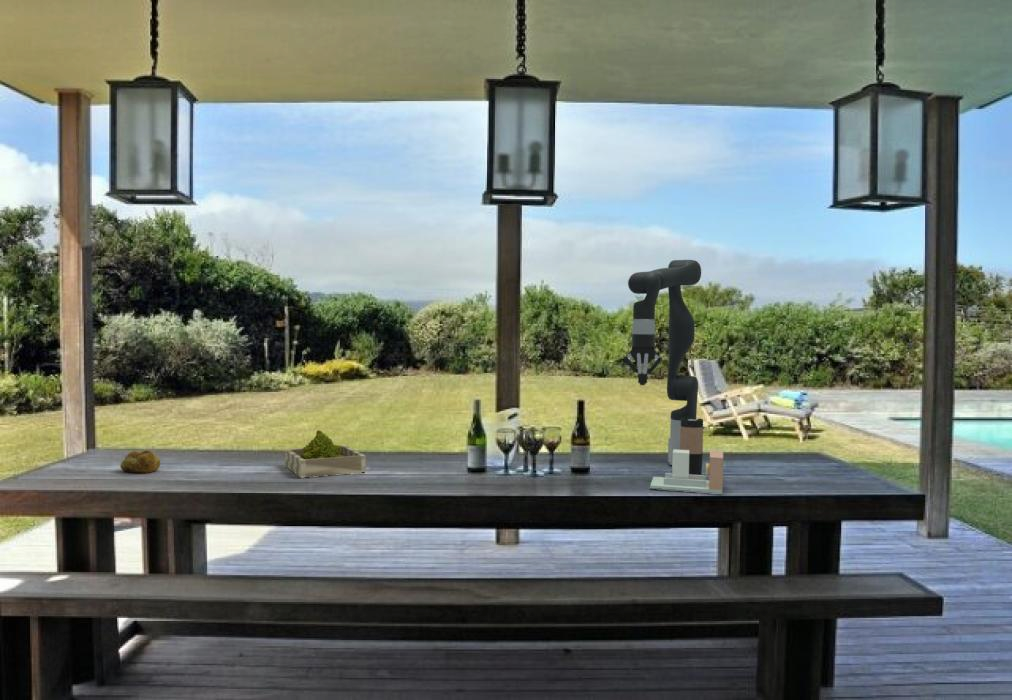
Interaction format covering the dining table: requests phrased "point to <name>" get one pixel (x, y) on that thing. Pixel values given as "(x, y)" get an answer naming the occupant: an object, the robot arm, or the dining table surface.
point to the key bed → (696, 477)
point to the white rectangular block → (680, 464)
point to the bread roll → (140, 462)
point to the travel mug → (692, 443)
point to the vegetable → (321, 448)
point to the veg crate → (325, 463)
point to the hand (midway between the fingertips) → (642, 385)
